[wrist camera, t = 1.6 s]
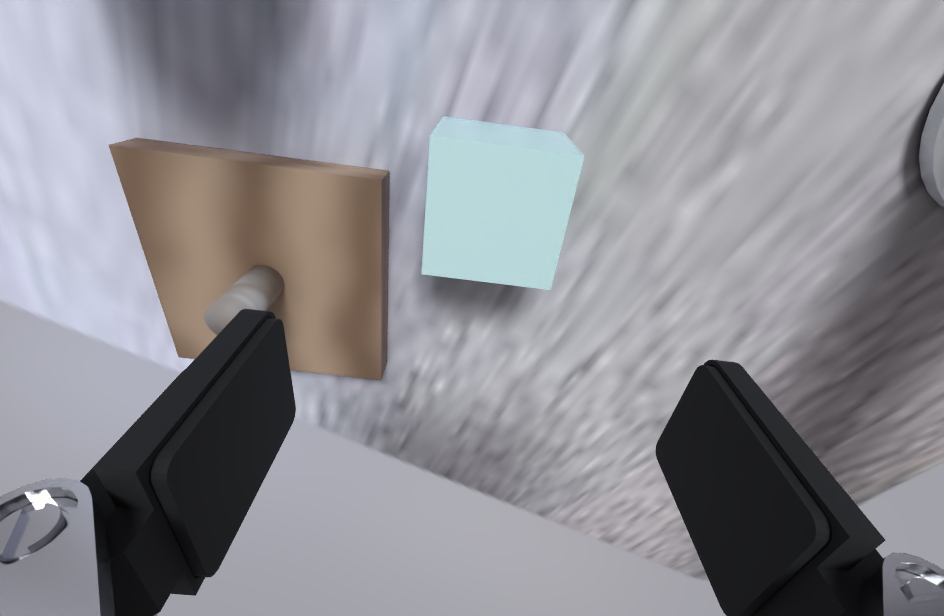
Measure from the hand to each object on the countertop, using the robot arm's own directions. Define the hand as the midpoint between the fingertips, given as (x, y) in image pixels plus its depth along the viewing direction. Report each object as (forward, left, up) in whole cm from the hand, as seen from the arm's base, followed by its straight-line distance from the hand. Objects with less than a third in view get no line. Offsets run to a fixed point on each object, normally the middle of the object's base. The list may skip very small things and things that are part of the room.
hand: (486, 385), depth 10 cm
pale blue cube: (0, 0, -17) cm, 17 cm away
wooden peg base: (+13, +7, -17) cm, 22 cm away
